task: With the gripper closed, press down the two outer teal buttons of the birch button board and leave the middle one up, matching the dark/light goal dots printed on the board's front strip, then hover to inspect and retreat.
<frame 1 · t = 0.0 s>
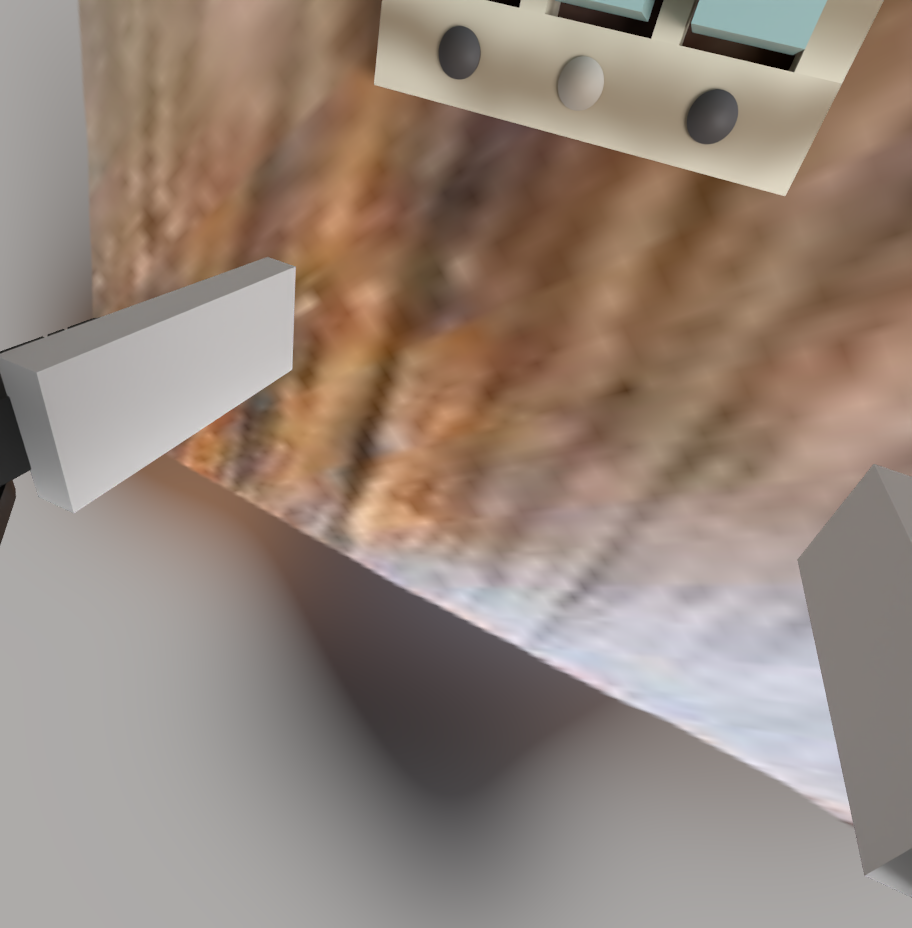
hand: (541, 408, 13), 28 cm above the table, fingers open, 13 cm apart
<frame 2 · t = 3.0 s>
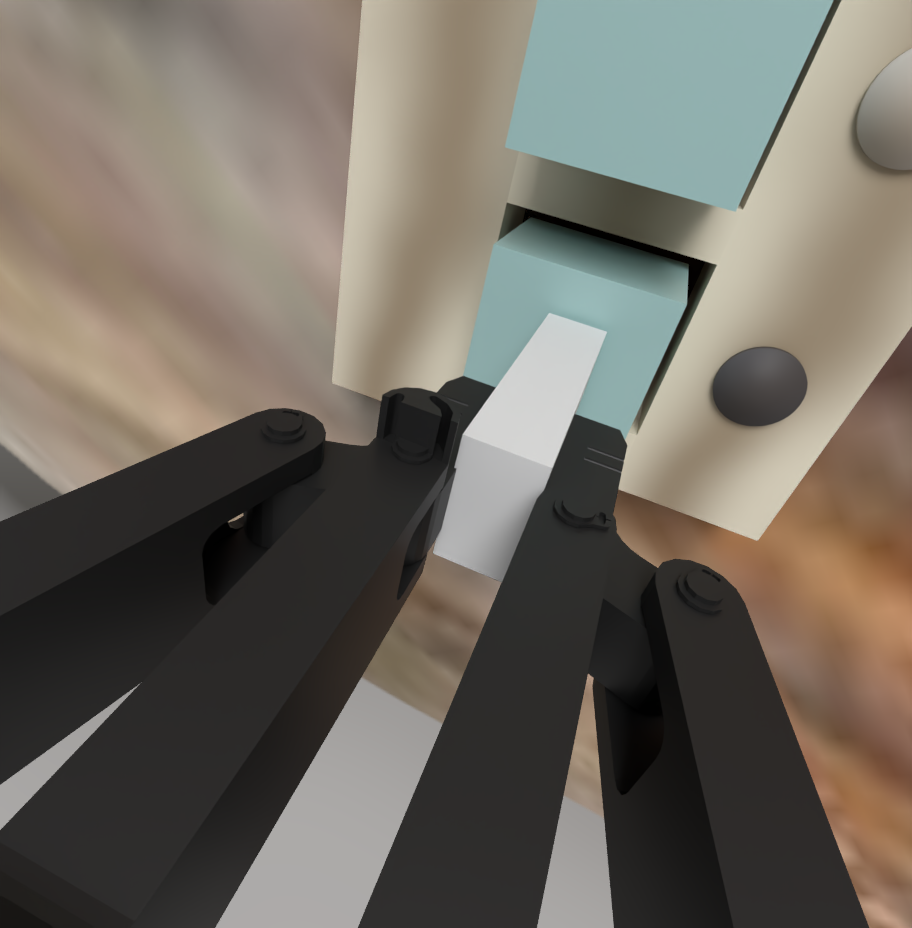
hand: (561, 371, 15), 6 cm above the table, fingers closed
button b: (669, 40, 12), point 5 cm above the table, slide at 0.0 cm
button a: (570, 337, 17), point 4 cm above the table, slide at 1.0 cm, touching gripper
board: (676, 55, 16), on the table
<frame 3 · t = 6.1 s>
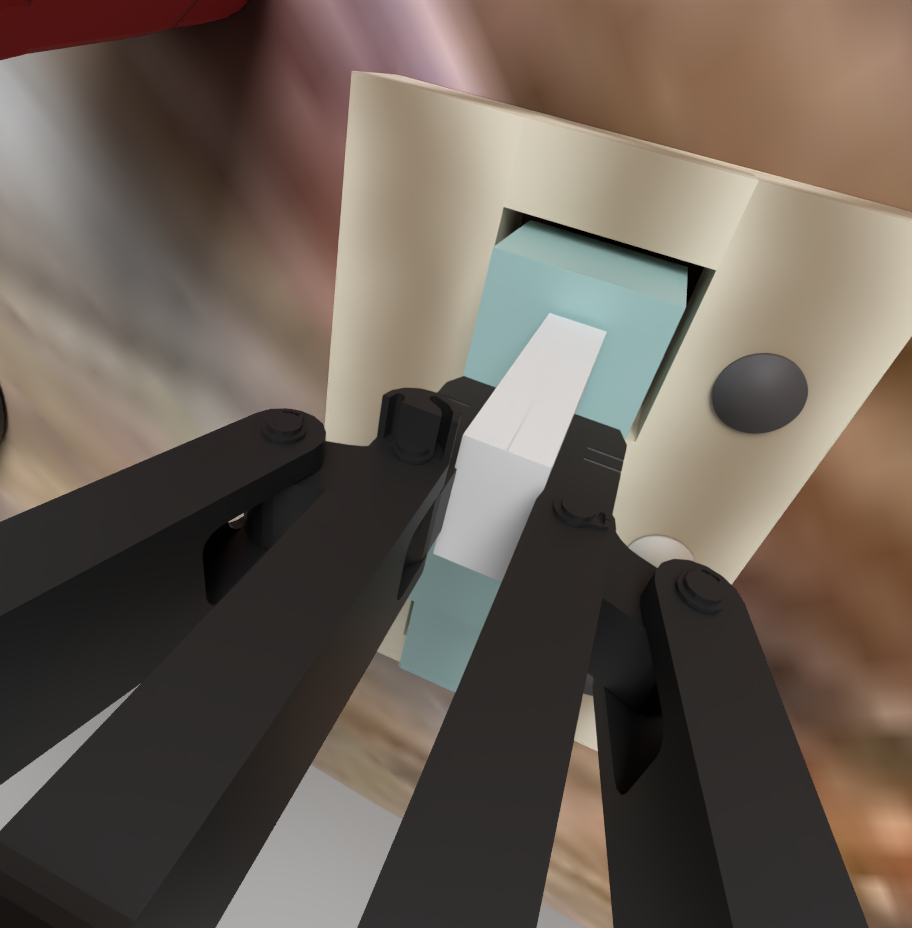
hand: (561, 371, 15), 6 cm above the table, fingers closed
button b: (499, 538, 20), point 5 cm above the table, slide at 0.0 cm
button a: (473, 622, 25), point 3 cm above the table, slide at 2.0 cm
board: (532, 464, 24), on the table
button c: (569, 339, 17), point 4 cm above the table, slide at 1.3 cm, touching gripper
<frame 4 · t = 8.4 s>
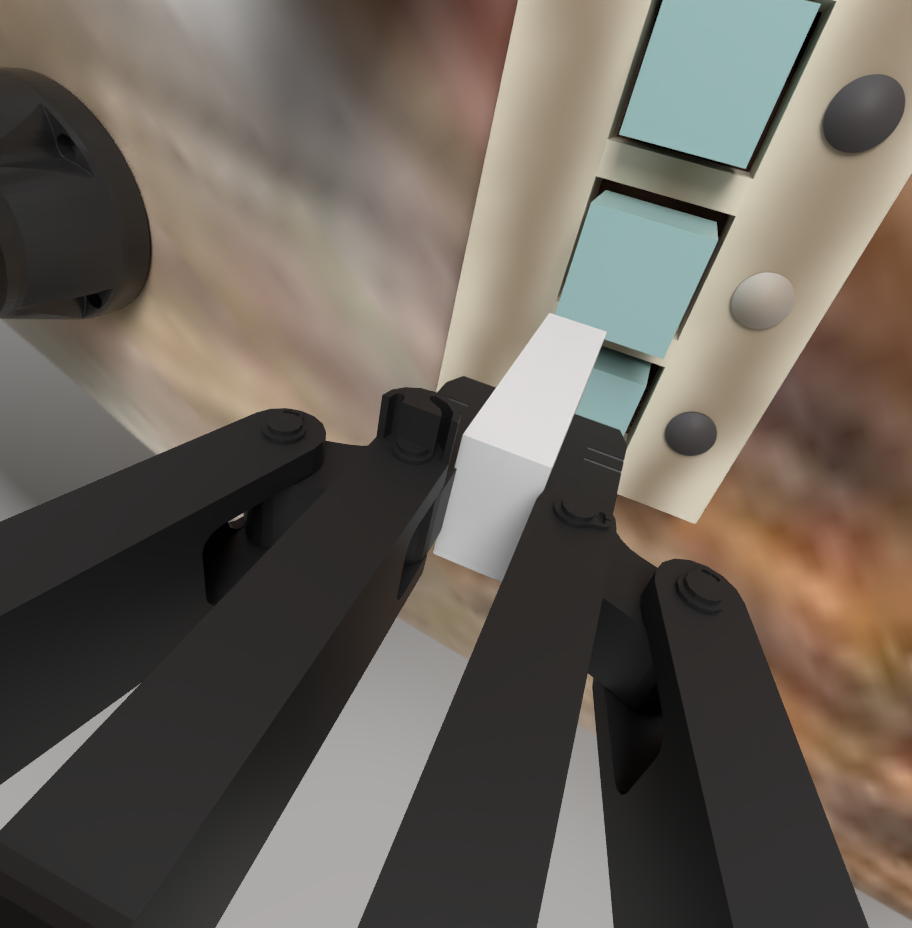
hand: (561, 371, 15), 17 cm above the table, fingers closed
button b: (633, 272, 24), point 5 cm above the table, slide at 0.0 cm
button a: (586, 395, 30), point 3 cm above the table, slide at 2.0 cm
board: (644, 248, 28), on the table
button c: (710, 77, 21), point 3 cm above the table, slide at 2.0 cm
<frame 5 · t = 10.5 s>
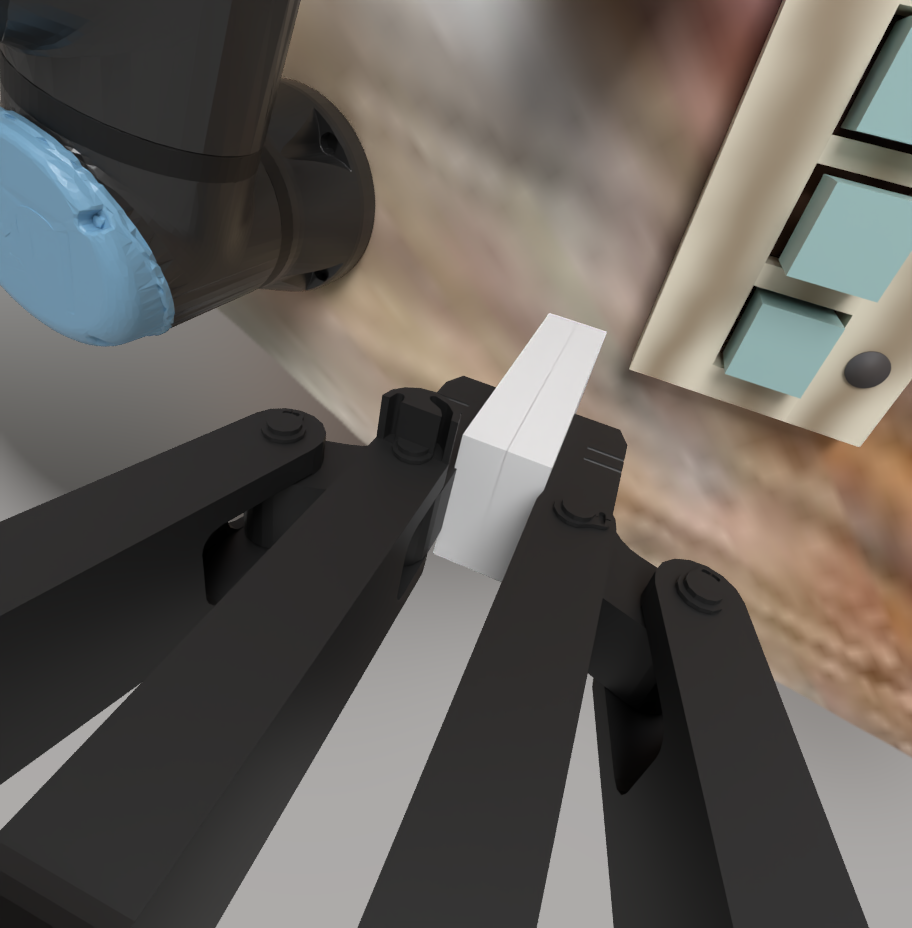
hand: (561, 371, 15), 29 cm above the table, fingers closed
button b: (850, 236, 31), point 5 cm above the table, slide at 0.0 cm
button a: (778, 341, 37), point 3 cm above the table, slide at 2.0 cm
board: (833, 221, 35), on the table
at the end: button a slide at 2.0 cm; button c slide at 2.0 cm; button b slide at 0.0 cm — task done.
